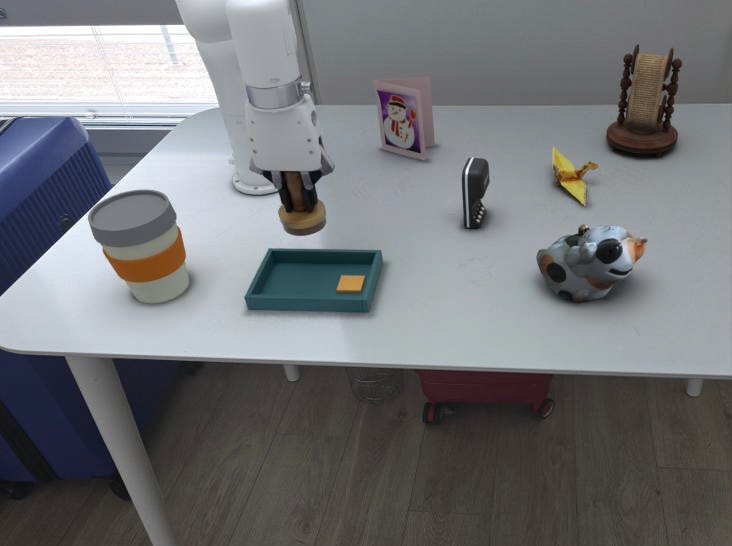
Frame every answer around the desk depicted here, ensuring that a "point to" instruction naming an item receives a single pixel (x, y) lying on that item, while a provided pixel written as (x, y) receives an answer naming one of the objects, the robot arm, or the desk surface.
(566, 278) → the lucky cat figurine
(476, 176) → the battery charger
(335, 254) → the tray
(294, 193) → the stamp
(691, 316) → the desk surface
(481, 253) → the desk surface
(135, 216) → the reusable coffee cup
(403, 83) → the greeting card
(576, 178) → the origami crane
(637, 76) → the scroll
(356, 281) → the orange flat square block
